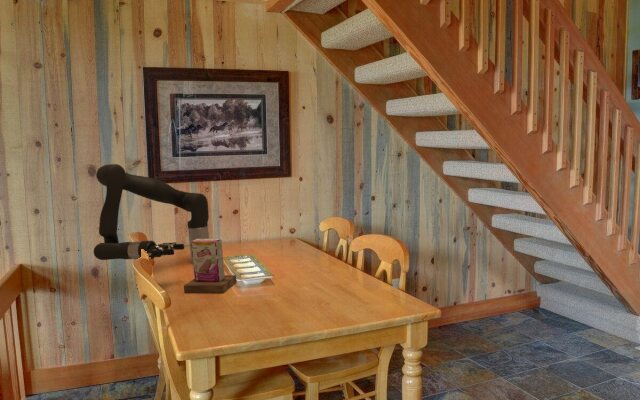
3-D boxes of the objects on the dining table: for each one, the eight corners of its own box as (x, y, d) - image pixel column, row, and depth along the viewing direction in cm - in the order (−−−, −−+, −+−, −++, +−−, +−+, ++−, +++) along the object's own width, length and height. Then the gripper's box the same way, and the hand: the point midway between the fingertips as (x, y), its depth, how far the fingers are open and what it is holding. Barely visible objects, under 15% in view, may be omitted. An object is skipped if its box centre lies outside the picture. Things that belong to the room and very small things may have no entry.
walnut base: (200, 282, 220) (199, 275, 219) (236, 282, 216) (235, 275, 216) (184, 293, 206) (183, 285, 206) (222, 293, 202) (222, 285, 202)
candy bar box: (194, 281, 210) (190, 241, 208) (200, 278, 215) (196, 238, 212) (219, 282, 207) (215, 241, 204) (225, 278, 211) (221, 238, 209)
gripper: (131, 245, 209) (169, 244, 205) (150, 237, 223) (185, 236, 219) (133, 264, 210) (171, 263, 206) (152, 254, 224) (188, 253, 220)
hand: (178, 249), depth 213 cm, fingers open, 8 cm apart
